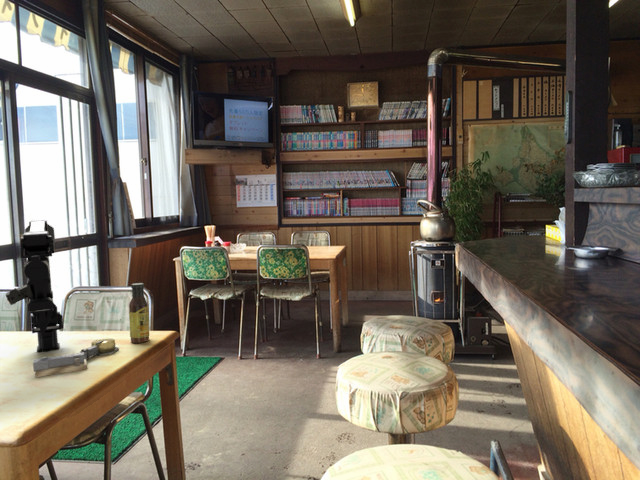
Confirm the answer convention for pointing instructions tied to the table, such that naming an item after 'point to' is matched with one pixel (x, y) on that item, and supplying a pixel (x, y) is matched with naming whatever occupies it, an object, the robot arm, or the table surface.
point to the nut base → (107, 352)
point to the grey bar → (56, 361)
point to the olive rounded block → (99, 347)
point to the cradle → (63, 368)
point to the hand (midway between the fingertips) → (43, 328)
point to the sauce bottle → (138, 315)
